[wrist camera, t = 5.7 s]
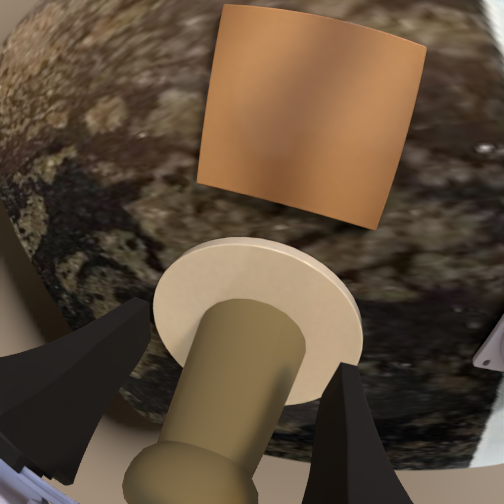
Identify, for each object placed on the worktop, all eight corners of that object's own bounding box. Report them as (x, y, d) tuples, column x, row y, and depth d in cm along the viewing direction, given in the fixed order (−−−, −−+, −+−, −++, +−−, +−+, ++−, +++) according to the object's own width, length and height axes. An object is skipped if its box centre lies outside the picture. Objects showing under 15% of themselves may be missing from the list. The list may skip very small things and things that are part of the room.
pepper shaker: (240, 386, 19) (179, 541, 10) (179, 319, 18) (75, 483, 9) (326, 363, 17) (287, 561, 7) (265, 280, 15) (165, 513, 6)
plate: (398, 276, 14) (401, 285, 13) (322, 412, 20) (320, 421, 20) (159, 209, 16) (152, 215, 15) (161, 362, 22) (156, 370, 21)
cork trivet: (424, 48, 9) (427, 47, 9) (374, 226, 13) (375, 231, 13) (227, 6, 10) (222, 3, 10) (200, 180, 14) (195, 183, 14)
